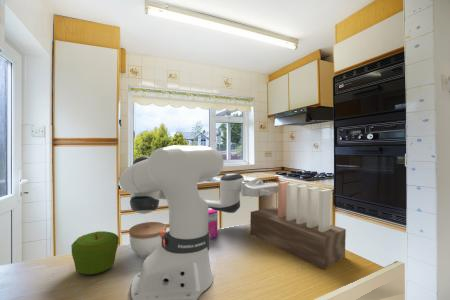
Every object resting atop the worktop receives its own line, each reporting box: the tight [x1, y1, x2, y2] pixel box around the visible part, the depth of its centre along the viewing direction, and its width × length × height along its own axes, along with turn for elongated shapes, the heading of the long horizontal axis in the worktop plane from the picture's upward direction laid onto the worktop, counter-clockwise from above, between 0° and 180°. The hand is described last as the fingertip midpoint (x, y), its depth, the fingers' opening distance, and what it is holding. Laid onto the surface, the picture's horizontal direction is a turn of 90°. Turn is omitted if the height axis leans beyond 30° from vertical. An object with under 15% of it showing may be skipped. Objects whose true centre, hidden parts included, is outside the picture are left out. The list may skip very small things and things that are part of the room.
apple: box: [71, 230, 120, 275], centre depth 69 cm, size 12×12×11 cm
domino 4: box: [307, 186, 320, 228], centre depth 81 cm, size 5×2×14 cm, turn 126°
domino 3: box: [296, 184, 309, 224], centre depth 85 cm, size 5×2×14 cm, turn 126°
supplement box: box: [208, 208, 218, 240], centre depth 95 cm, size 6×6×12 cm
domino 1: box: [277, 181, 290, 218], centre depth 92 cm, size 5×2×14 cm, turn 127°
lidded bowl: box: [128, 221, 167, 259], centre depth 80 cm, size 13×13×11 cm
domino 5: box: [318, 188, 332, 232], centre depth 78 cm, size 5×2×14 cm, turn 126°
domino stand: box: [249, 206, 347, 271], centre depth 88 cm, size 14×34×10 cm, turn 37°
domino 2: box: [286, 183, 299, 221], centre depth 89 cm, size 5×2×14 cm, turn 127°
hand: (277, 192), depth 95 cm, fingers open, 8 cm apart
